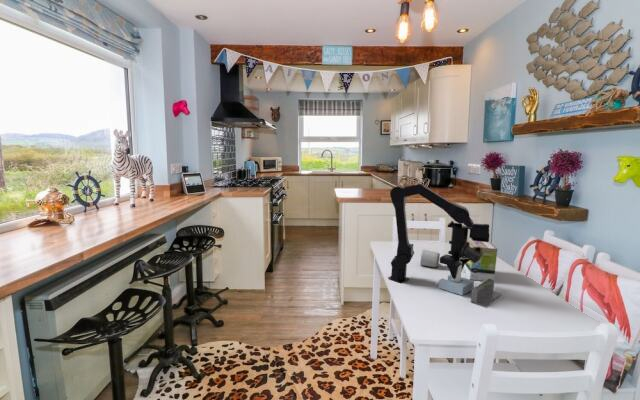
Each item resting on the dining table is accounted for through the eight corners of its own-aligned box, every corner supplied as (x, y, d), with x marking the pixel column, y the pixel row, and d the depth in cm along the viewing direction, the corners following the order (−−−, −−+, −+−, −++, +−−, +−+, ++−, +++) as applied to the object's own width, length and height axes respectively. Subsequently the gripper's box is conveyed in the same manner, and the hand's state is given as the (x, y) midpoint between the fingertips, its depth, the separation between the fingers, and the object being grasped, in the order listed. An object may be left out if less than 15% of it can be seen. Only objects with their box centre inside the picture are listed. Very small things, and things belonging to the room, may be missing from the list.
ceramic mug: (438, 270, 157) (439, 253, 156) (419, 267, 160) (420, 251, 159) (439, 263, 167) (440, 248, 166) (421, 261, 170) (423, 246, 169)
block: (462, 295, 129) (462, 287, 129) (438, 287, 136) (439, 280, 135) (473, 288, 136) (474, 280, 135) (450, 281, 143) (450, 274, 142)
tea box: (494, 282, 144) (498, 248, 142) (469, 280, 146) (472, 246, 144) (485, 270, 158) (488, 239, 156) (462, 268, 160) (464, 237, 158)
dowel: (457, 288, 134) (459, 263, 132) (449, 285, 136) (451, 261, 135) (461, 286, 136) (463, 261, 134) (453, 283, 138) (455, 259, 137)
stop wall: (485, 307, 120) (486, 293, 120) (470, 302, 124) (471, 289, 123) (501, 294, 131) (502, 282, 130) (487, 290, 135) (489, 278, 134)
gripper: (469, 248, 121) (466, 289, 123) (490, 239, 134) (486, 277, 136) (440, 241, 129) (437, 281, 131) (461, 233, 142) (458, 269, 144)
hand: (456, 277), depth 135 cm, fingers closed on dowel, 3 cm apart
